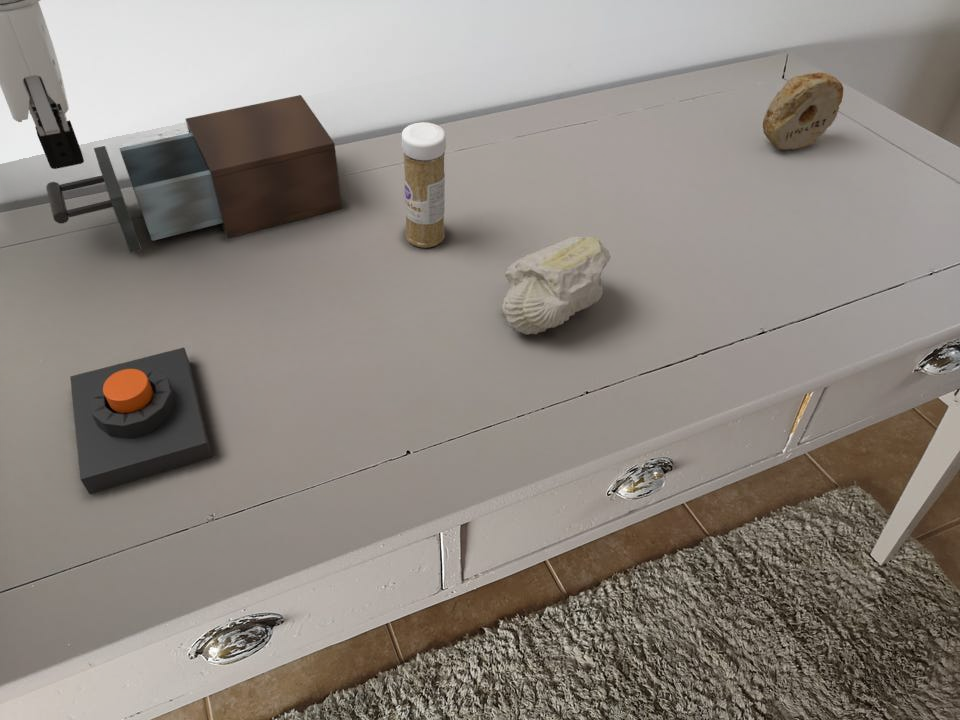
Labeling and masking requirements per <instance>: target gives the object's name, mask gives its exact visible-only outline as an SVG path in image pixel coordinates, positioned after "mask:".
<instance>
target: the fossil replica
mask: <svg viewBox="0 0 960 720" xmlns="http://www.w3.org/2000/svg"><path fill="white" fill-rule="evenodd" d="M610 260H611V254H610V251H609V250H608V249H607V248H606V247H605V246H604V244H603V243H602V242H601V240H600V239H599V238H596V237H595V236H594V237H593V236H589V237H588V236H571V237H568V238H565V239H564V240H563V241H558V242H556V243H554V244H551V245H548V246H546V247H544V248H542V249H539V250H537V251H534V252H531V253H529V254H527V255H524V256H522V257H521V258H518V259H517V260H515V261H514V262H512V264H511V265H509V266H507V268H506V270H505V273H504V277H505V278H506V280H507V281H508V284H509V287H510V288H509V289H508V290H507V292H506V295H505V297H504V299H503V301H502V305H501V309H502V313H503V315H504V316H505V319H506V321H507V322H508V325H509V326H510V328H512V329H514V330H515V331H516V332H517V333H522V334H524V335H538V333H542V332H546V330H547V329H551V328H556V327H558V326H562V325H564V323H565V322H567V321H569V320H570V318H571V316H575V314H576V312H580V311H581V310H585V309H588V308H589V307H591V306H592V305H593V304H596V303H597V302H598V301H600V299H601V297H602V296H603V293H604V292H603V291H604V289H603V286H604V285H603V282H604V281H603V279H602V273H603V270H604V269H605V267H606V266H607V265H608V263H609V262H610Z"/></svg>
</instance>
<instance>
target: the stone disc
mask: <svg viewBox="0 0 960 720" xmlns="http://www.w3.org/2000/svg"><path fill="white" fill-rule="evenodd" d="M843 97H844V86H843V84H842V82H841V81H839V79H838V78H837V77H835V76H833V75H831V74H829V73H826V72H814V73H803V74H801V75H796V76H793V77H791V78H790V79H789V80H787V81H786V82H785V83H784V85H783V86H782V88H781V90H779V91H778V92H777V93H776V95H775V96H774V97H773V98H772V100H771V102H770V104H769V105H768V107H767V110H766V112H765V114H764V117H763V119H762V130H763V134H764V135H765V137H766V139H767V140H768V141H769V142H770V143H771V144H772V145H773V146H774V147H775V148H778V149H779V150H784V151H785V150H791V151H792V150H798V149H802V148H805V147H806V148H807V147H808V146H811V145H812V144H813V143H815V142H816V141H818V140H819V139H820V138H821V137H822V136H823V134H825V132H826V131H827V130H828V128H829V127H831V126H832V124H833V123H834V121H835V120H836V118H837V116H838V112H839V110H840V105H841V104H842V102H843Z"/></svg>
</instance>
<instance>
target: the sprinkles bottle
mask: <svg viewBox="0 0 960 720" xmlns="http://www.w3.org/2000/svg"><path fill="white" fill-rule="evenodd" d="M446 134H447V133H446V132H445V130H444V129H443V128H442V127H441V126H440V125H437V124H435V123H432V122H423V121H421V122H414V123H411V124H409V125H407V126H406V127H405V128H403V130H402V131H401V151H402V153H403V164H404V165H403V166H404V209H405V210H404V212H405V223H406V224H405V226H406V229H405V239H406V240H407V242H408V243H409V244H410V245H412V246H415V247H417V248H423V249H424V248H425V249H426V248H427V249H428V248H432V247H435V246H438V245H439V244H441V243H442V242H443V241H444V239H445V237H446V236H445V235H446V234H445V233H446V232H445V225H444V223H445V220H444V219H445V201H446V199H445V196H446V195H445V194H446V193H445V189H446V187H445V186H446V184H445V183H446V181H445V177H446V175H445V153H446V150H447V137H446Z"/></svg>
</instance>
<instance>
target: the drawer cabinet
mask: <svg viewBox="0 0 960 720" xmlns="http://www.w3.org/2000/svg"><path fill="white" fill-rule="evenodd" d="M185 124H186V127H187V130H188V133H191V134H192V136H193V138H194V140H195V142H196V144H197V147H198V149H199V151H200V153H201V155H202V157H203V159H204V161H205V163H206V165H207V167H208V169H209V171H210V173H211V177H212V181H213V185H214V189H215V193H216V197H217V201H218V205H219V209H220V213H221V216H222V220H223V223H221V227H222V229H223V230H224V233H225V235H226V237H227V238H228V239H229V238H233V237H237V236H242V235H246V234H248V233H253V232H256V231H260V230H263V229H267V228H272V227H275V226H279V225H283V224H287V223H291V222H295V221H298V220H303V219H306V218H311V217H314V216H318V215H321V214H325V213H328V212H329V213H330V212H333V211H337V210H340V209H341V210H342V208H343V205H342V197H341V187H340V179H339V170H338V162H337V161H338V160H337V153H336V146H335V144H336V143H335V141H334V140H333V138H332V137H331V136H330V135H329V133H328V132H327V130H326V129H325V128H324V126H323V125H322V123H321V121H320V120H319V118H318V117H317V116H316V114H315V113H314V111H313V110H312V109H311V107H310V106H309V104H308V103H307V102H306V100H305V99H304V97H303V96H302V94H299V95H294V96H289V97H284V98H279V99H274V100H269V101H264V102H259V103H255V104H249V105H245V106H240V107H235V108H231V109H226V110H225V109H224V110H221V111H216V112H211V113H205V114H202V115H197V116H192V117H186V118H185Z"/></svg>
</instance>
